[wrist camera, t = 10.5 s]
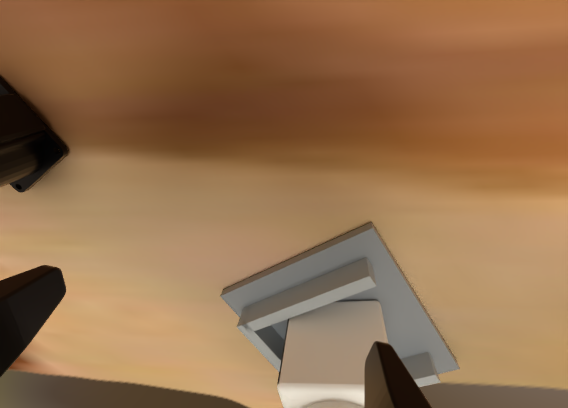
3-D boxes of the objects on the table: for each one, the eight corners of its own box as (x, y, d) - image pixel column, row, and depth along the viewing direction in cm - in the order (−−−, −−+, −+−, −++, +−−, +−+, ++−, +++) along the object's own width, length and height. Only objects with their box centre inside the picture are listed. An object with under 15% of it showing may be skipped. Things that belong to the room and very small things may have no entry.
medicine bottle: (289, 301, 24) (257, 494, 14) (379, 298, 23) (421, 510, 12) (303, 358, 27) (286, 552, 17) (384, 359, 26) (420, 572, 15)
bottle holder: (318, 394, 31) (316, 424, 28) (223, 289, 26) (211, 314, 23) (456, 360, 26) (469, 392, 23) (371, 222, 21) (376, 244, 18)
